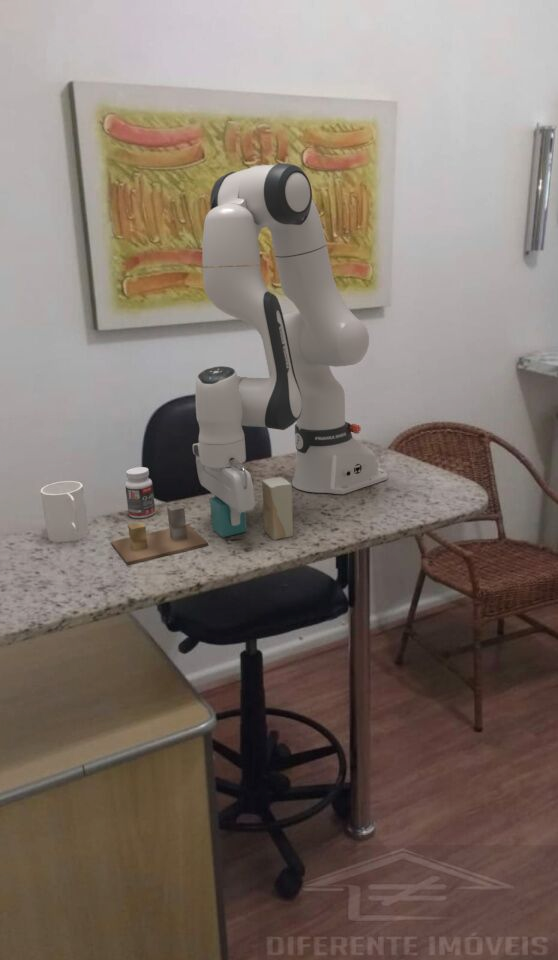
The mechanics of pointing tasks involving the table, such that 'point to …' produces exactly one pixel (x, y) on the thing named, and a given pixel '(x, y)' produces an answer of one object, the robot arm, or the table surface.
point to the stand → (159, 539)
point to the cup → (65, 511)
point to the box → (277, 507)
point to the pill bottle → (139, 493)
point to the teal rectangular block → (225, 519)
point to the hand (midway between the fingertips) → (228, 518)
